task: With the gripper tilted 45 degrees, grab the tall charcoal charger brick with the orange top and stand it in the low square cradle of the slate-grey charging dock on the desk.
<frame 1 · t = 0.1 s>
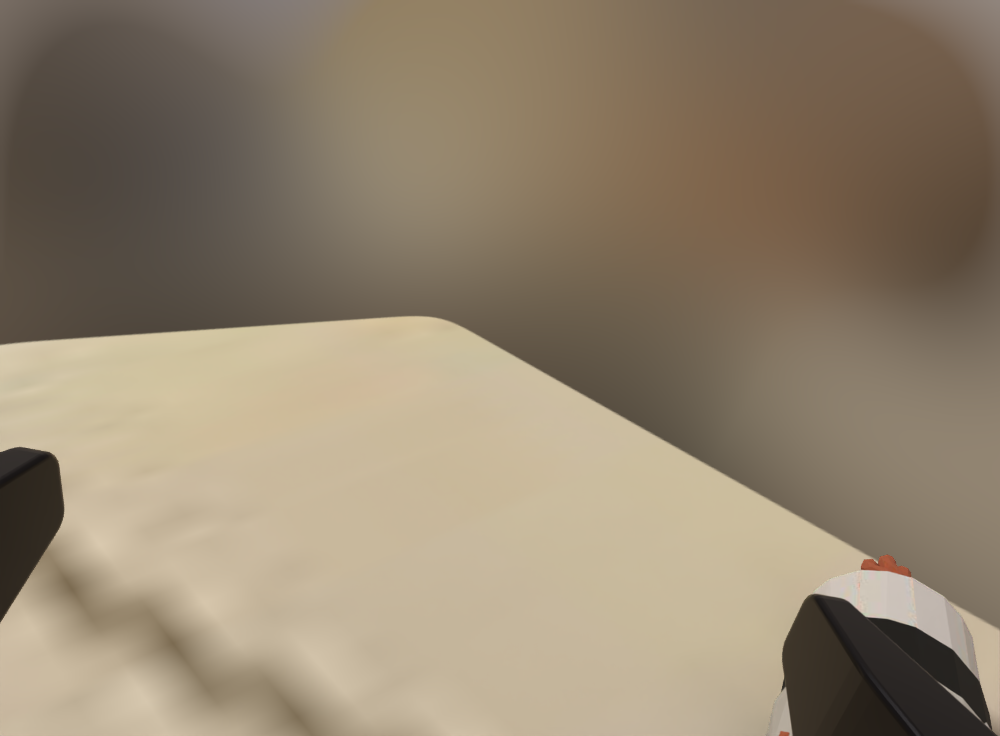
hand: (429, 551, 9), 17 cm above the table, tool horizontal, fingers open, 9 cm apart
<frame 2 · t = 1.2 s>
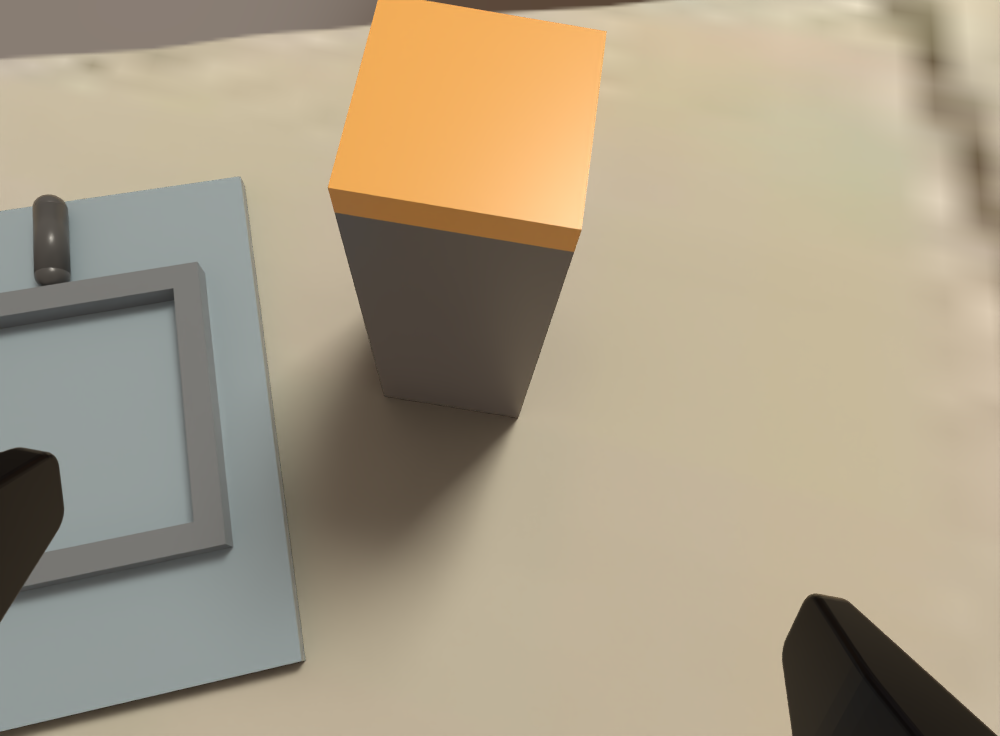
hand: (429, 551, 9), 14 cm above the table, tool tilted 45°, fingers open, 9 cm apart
charging dock: (74, 434, 23), on the table
charger brick: (462, 344, 25), on the table
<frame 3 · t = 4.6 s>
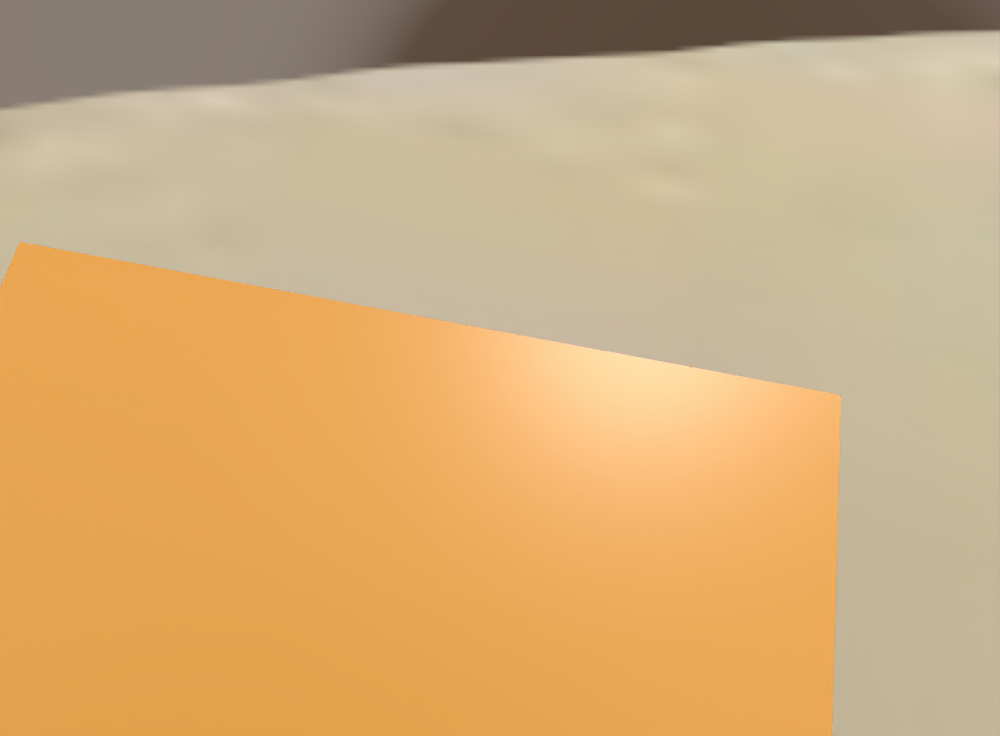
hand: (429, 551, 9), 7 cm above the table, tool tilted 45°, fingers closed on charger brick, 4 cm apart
charger brick: (424, 647, 15), on the table, touching gripper
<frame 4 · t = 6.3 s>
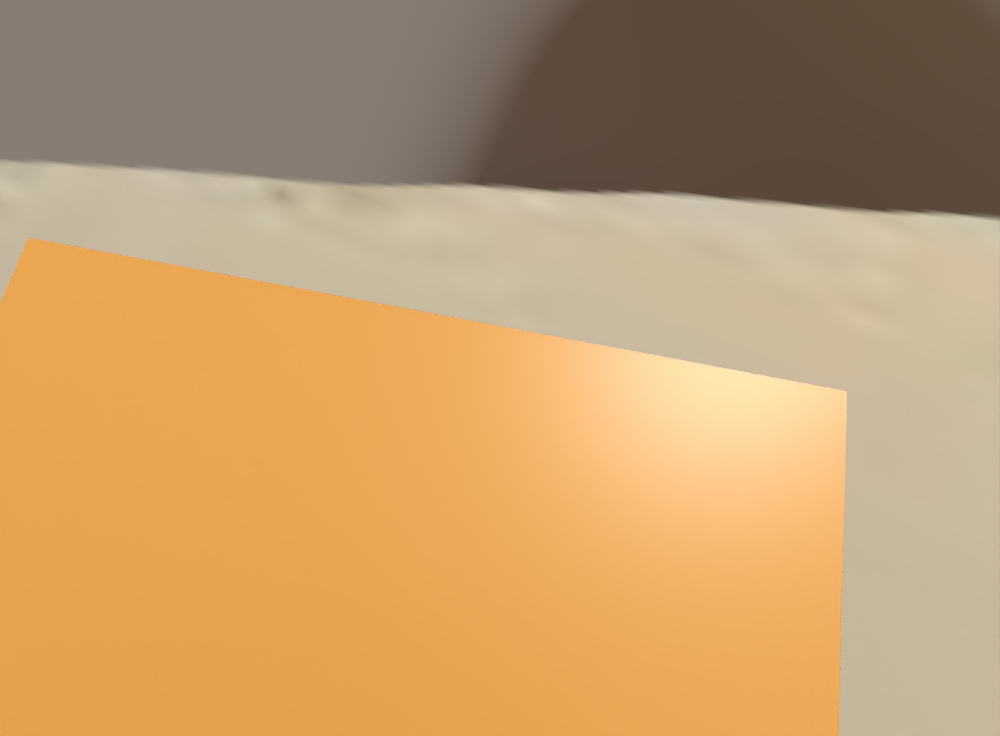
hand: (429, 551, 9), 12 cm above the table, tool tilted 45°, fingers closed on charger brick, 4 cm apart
charger brick: (426, 646, 15), point 6 cm above the table, touching gripper
when the fingers open (9 cm above the table, at t = 8.4 s): charger brick drops 1 cm, resting on charging dock.
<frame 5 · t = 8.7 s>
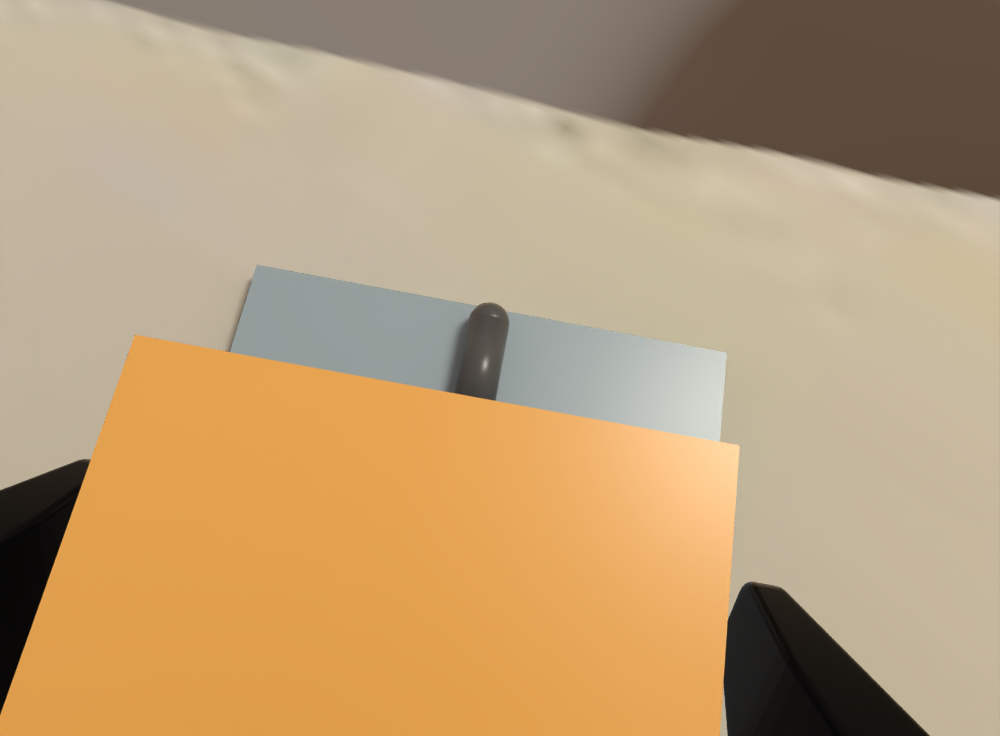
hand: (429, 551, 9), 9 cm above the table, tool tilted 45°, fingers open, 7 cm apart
charging dock: (428, 642, 17), on the table
charger brick: (427, 641, 16), point 1 cm above the table, touching charging dock
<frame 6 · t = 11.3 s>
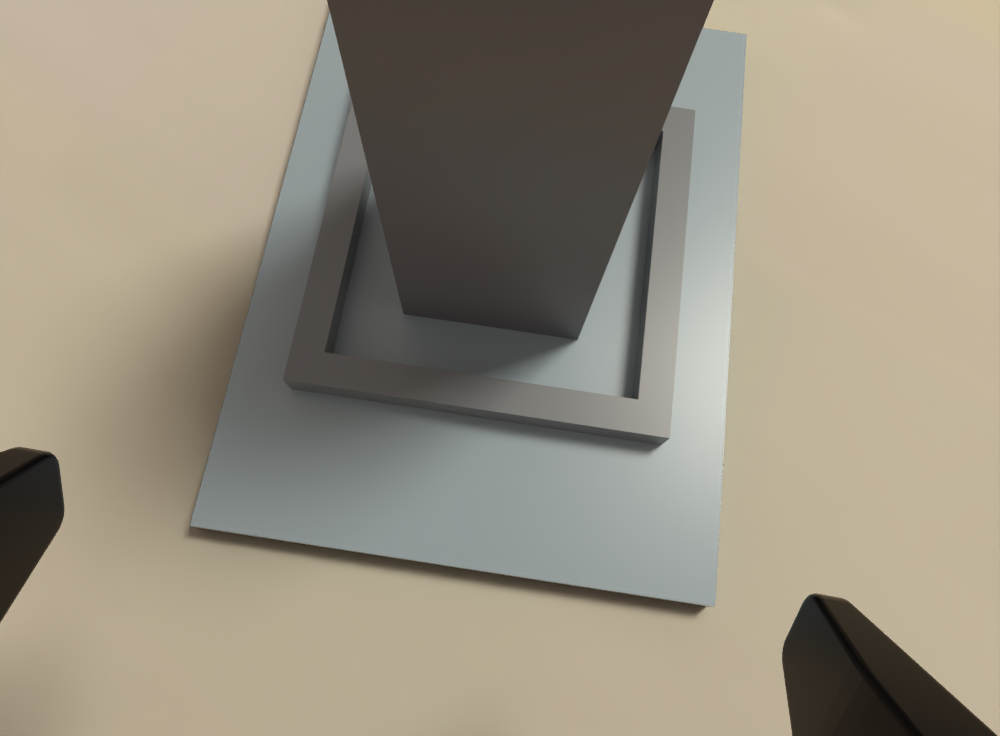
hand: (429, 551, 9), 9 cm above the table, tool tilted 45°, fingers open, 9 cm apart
charging dock: (501, 259, 20), on the table
charger brick: (502, 248, 19), point 1 cm above the table, touching charging dock
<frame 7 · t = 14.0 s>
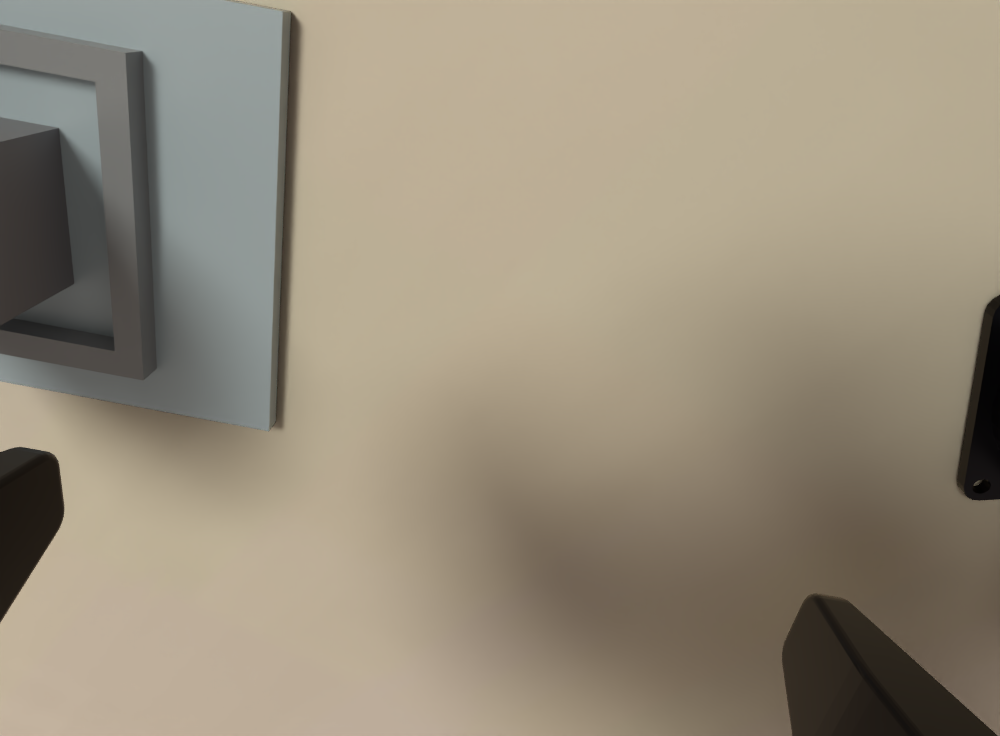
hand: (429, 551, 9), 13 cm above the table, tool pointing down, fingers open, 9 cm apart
charging dock: (4, 190, 21), on the table
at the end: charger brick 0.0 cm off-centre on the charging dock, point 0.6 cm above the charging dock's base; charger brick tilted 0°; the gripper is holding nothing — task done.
